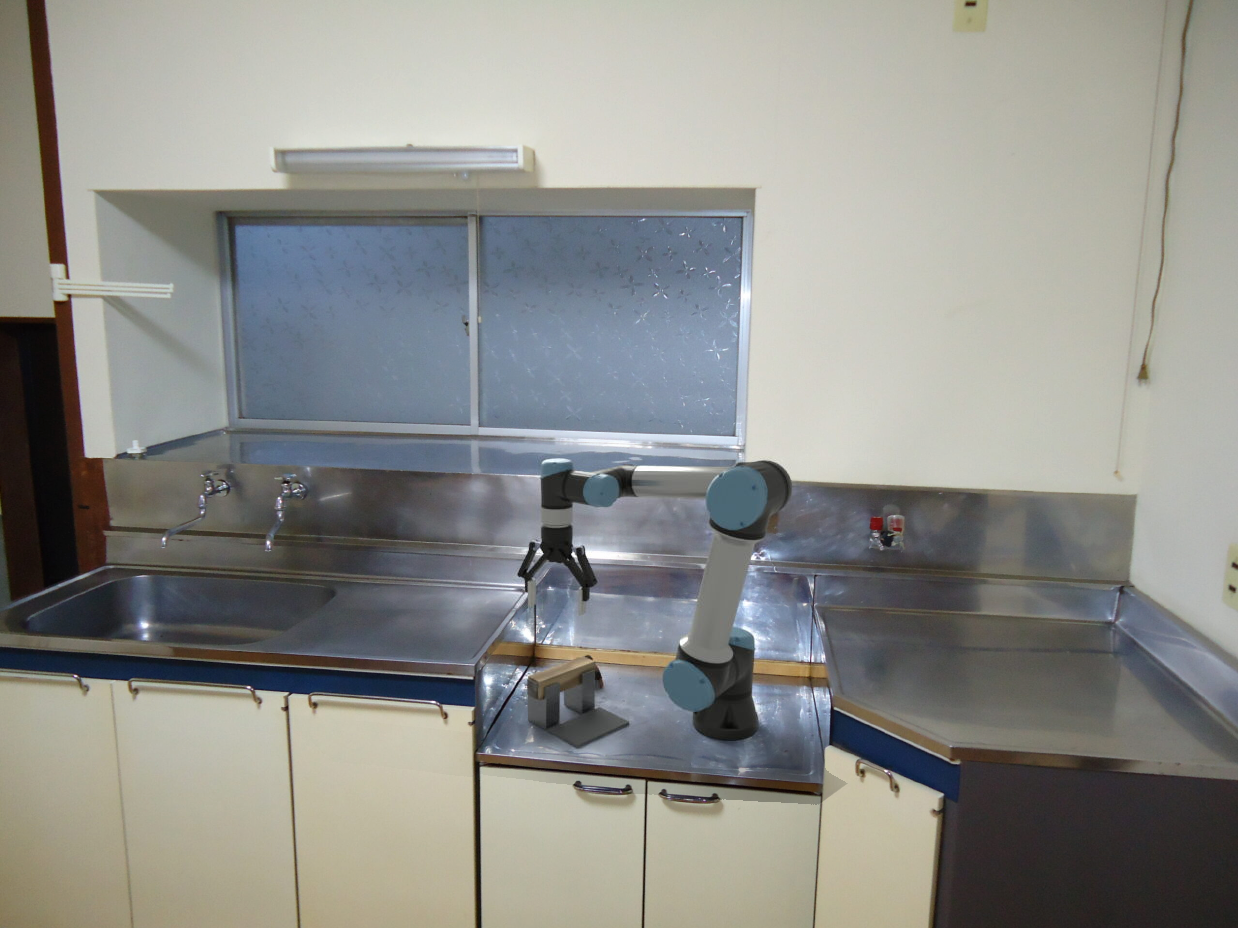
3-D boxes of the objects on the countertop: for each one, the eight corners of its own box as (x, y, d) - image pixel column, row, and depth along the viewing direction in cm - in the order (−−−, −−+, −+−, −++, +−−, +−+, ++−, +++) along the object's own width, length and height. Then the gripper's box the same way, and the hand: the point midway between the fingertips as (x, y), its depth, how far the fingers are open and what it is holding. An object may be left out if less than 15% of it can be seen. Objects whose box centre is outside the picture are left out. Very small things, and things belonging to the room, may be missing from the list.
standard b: (559, 724, 187) (559, 683, 185) (546, 729, 184) (546, 688, 182) (541, 714, 191) (541, 674, 190) (527, 719, 188) (528, 679, 187)
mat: (629, 723, 187) (629, 721, 187) (577, 747, 176) (577, 745, 176) (599, 708, 194) (599, 706, 194) (547, 731, 183) (548, 728, 183)
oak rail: (596, 678, 195) (596, 660, 194) (537, 701, 182) (537, 682, 182) (585, 672, 198) (585, 655, 197) (525, 695, 185) (526, 676, 185)
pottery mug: (604, 696, 203) (589, 671, 200) (571, 707, 205) (556, 684, 202) (608, 665, 214) (594, 641, 211) (577, 676, 216) (562, 653, 213)
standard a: (594, 709, 194) (595, 669, 193) (582, 714, 192) (582, 674, 190) (576, 699, 199) (576, 661, 197) (563, 704, 196) (564, 665, 194)
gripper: (611, 525, 191) (610, 611, 195) (518, 515, 201) (519, 597, 204) (598, 532, 185) (597, 621, 188) (503, 521, 194) (503, 606, 197)
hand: (556, 609), depth 196 cm, fingers open, 13 cm apart
